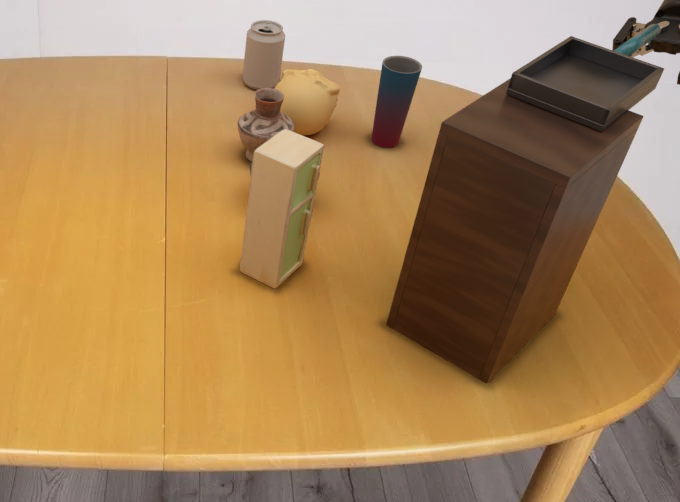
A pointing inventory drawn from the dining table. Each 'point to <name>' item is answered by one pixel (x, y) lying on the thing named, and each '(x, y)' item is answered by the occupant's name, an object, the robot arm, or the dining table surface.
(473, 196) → the wooden filing cabinet
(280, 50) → the can
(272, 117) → the pottery
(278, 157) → the toy refrigerator
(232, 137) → the dining table surface
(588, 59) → the grey square pan
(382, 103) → the cup
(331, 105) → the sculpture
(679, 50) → the robot arm
